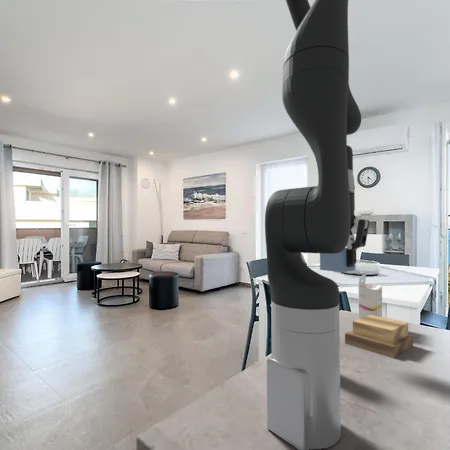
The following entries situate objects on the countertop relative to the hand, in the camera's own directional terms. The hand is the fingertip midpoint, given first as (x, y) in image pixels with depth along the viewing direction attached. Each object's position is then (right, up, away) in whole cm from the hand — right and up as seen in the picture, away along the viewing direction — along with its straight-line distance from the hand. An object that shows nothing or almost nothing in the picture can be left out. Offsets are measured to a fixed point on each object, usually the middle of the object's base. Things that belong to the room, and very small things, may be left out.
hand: (337, 265), depth 67 cm
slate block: (0, -1, 0) cm, 1 cm away
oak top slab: (+12, -17, +4) cm, 21 cm away
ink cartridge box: (+16, -20, +16) cm, 30 cm away
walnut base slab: (+11, -20, +4) cm, 23 cm away
